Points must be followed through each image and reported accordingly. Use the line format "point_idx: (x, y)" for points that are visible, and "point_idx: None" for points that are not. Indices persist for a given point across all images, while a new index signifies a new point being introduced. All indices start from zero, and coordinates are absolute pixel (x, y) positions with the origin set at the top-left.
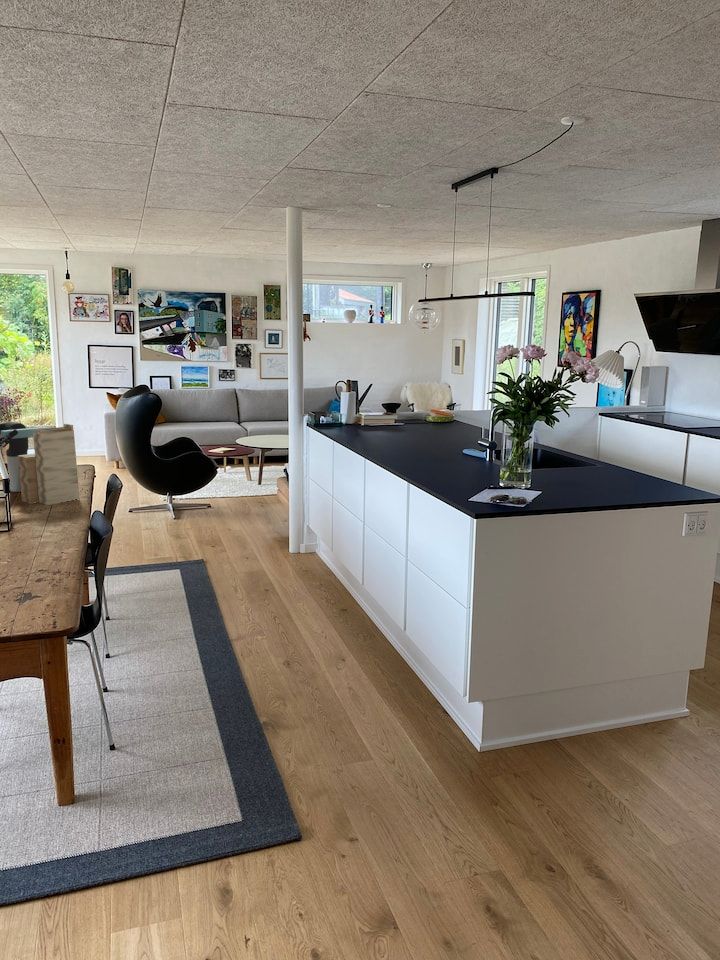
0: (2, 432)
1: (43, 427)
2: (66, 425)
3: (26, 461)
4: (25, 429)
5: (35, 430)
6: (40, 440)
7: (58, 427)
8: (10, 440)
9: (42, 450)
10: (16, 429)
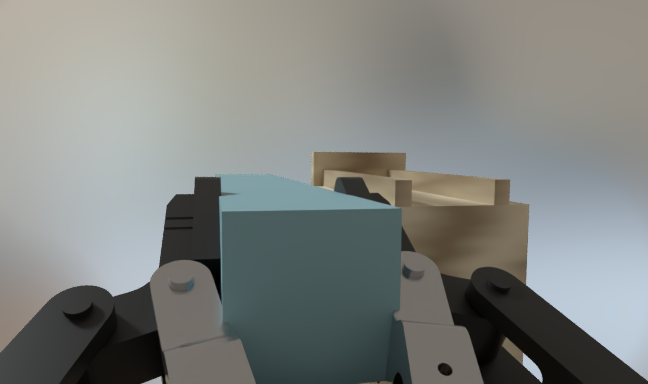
0: (319, 241)
1: (247, 176)
2: (349, 159)
3: None
4: (302, 184)
5: (409, 184)
6: (501, 266)
7: (338, 171)
8: (511, 356)
9: (519, 352)
10: (235, 189)
